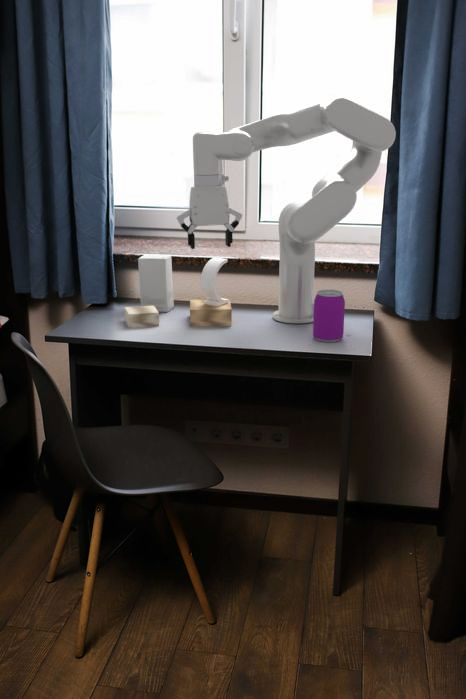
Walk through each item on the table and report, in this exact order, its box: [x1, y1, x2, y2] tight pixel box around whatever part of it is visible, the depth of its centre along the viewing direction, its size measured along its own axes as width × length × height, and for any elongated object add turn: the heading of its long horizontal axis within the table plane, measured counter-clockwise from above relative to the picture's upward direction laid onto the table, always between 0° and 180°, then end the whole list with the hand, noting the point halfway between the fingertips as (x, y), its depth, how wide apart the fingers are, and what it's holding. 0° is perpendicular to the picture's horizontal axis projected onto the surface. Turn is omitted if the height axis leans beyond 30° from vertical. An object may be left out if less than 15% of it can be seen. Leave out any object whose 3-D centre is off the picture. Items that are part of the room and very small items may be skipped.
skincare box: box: [137, 253, 175, 313], centre depth 228 cm, size 8×7×16 cm
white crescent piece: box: [200, 256, 230, 306], centre depth 215 cm, size 5×6×12 cm
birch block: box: [124, 305, 160, 329], centre depth 215 cm, size 8×8×4 cm
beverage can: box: [312, 289, 346, 343], centre depth 200 cm, size 8×8×12 cm
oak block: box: [189, 299, 233, 327], centre depth 217 cm, size 11×11×5 cm
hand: (210, 247), depth 212 cm, fingers open, 9 cm apart
